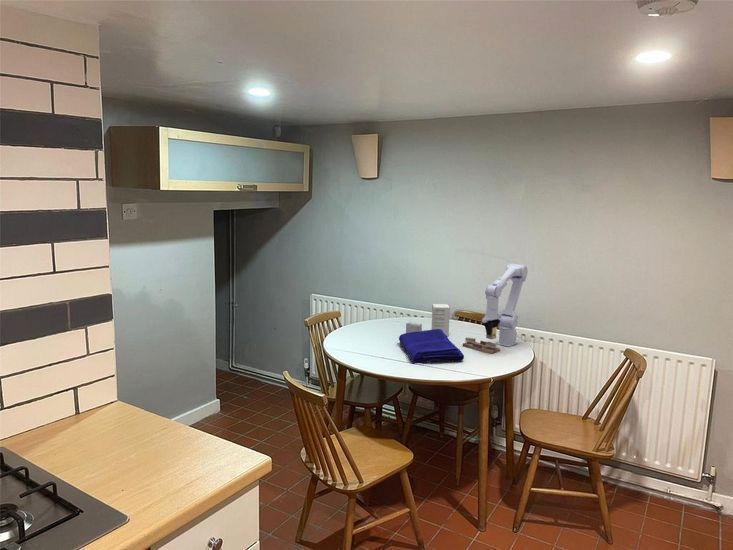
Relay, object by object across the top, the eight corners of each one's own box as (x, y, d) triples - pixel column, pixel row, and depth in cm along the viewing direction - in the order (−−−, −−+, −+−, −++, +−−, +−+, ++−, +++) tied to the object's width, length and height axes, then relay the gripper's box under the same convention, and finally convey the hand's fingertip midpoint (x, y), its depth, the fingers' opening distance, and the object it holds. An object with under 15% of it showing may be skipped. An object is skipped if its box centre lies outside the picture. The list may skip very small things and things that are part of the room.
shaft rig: (471, 343, 293) (471, 335, 292) (499, 351, 280) (500, 342, 279) (462, 346, 288) (462, 338, 287) (490, 354, 275) (491, 345, 274)
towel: (412, 365, 258) (412, 347, 256) (397, 343, 292) (397, 327, 291) (465, 363, 262) (465, 345, 260) (443, 342, 296) (444, 326, 295)
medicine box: (421, 338, 301) (422, 323, 300) (418, 340, 297) (418, 325, 296) (409, 336, 305) (409, 321, 304) (405, 338, 301) (405, 323, 300)
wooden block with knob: (489, 336, 282) (490, 325, 281) (496, 338, 279) (497, 327, 278) (485, 337, 280) (486, 326, 279) (492, 339, 277) (493, 328, 276)
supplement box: (449, 336, 306) (450, 307, 303) (432, 336, 306) (433, 307, 303) (446, 331, 315) (447, 303, 312) (431, 331, 315) (432, 303, 312)
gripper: (493, 305, 285) (492, 329, 287) (477, 309, 275) (476, 334, 277) (505, 307, 280) (503, 332, 282) (489, 311, 270) (487, 337, 272)
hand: (490, 333), depth 279 cm, fingers closed on wooden block with knob, 4 cm apart
